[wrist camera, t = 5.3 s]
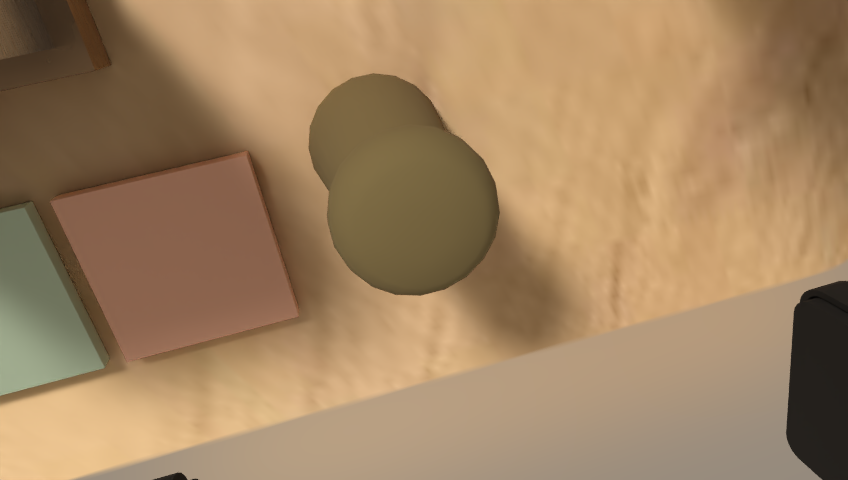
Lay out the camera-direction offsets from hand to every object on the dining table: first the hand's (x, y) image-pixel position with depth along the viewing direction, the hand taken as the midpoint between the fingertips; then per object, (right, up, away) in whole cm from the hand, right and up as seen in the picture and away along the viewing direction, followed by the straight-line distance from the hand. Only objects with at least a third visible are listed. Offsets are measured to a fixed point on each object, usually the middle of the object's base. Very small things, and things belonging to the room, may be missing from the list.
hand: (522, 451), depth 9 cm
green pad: (-21, 0, +17) cm, 27 cm away
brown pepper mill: (-4, +8, +18) cm, 20 cm away
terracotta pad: (-12, +2, +18) cm, 22 cm away
